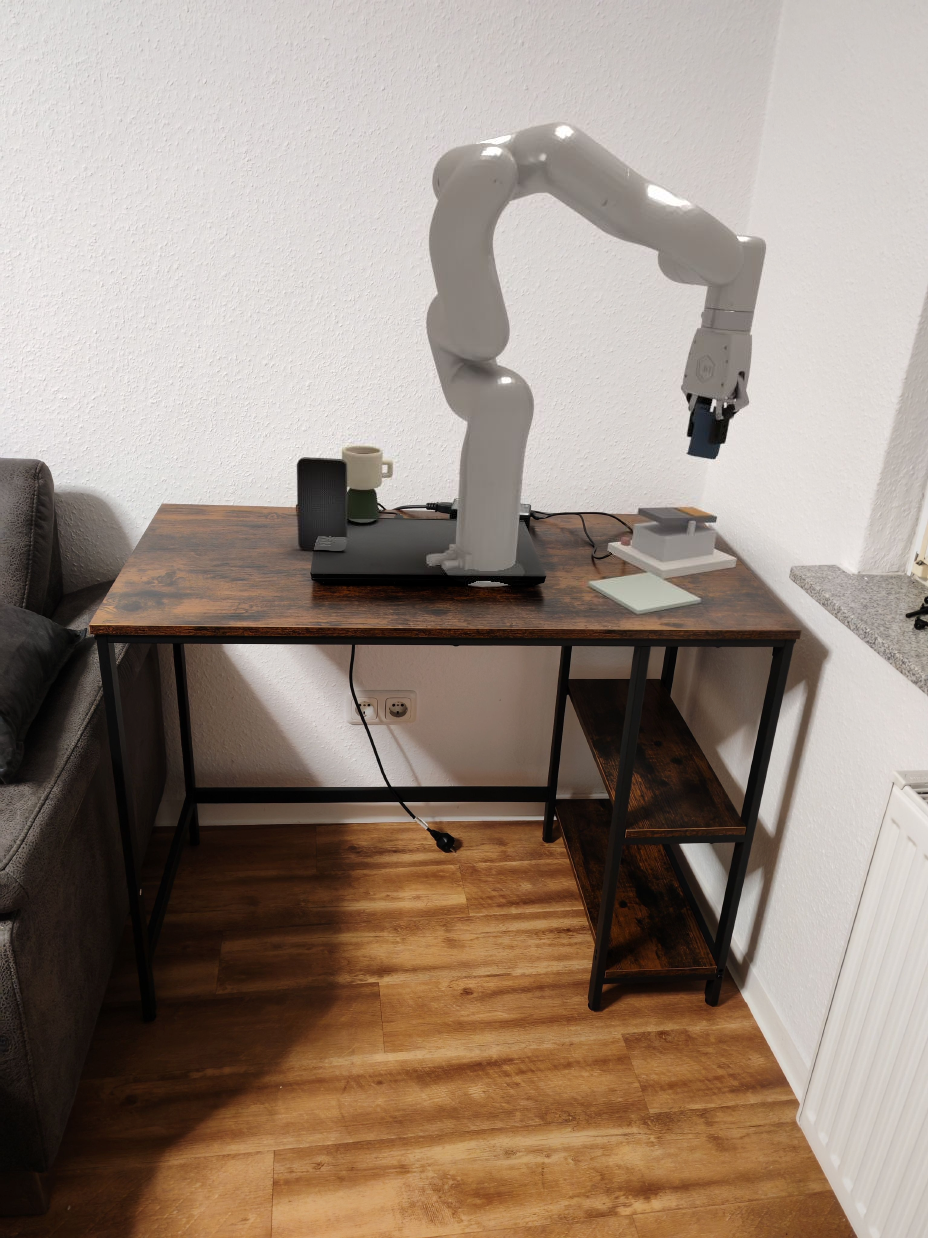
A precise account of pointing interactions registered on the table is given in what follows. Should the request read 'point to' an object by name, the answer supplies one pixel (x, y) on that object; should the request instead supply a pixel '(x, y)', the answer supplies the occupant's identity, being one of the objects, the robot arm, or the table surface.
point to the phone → (321, 499)
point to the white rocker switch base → (672, 549)
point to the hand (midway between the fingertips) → (705, 438)
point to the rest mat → (644, 592)
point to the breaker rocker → (677, 515)
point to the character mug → (364, 479)
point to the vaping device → (703, 430)
